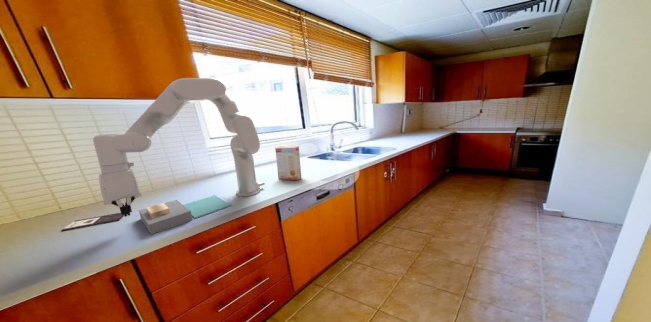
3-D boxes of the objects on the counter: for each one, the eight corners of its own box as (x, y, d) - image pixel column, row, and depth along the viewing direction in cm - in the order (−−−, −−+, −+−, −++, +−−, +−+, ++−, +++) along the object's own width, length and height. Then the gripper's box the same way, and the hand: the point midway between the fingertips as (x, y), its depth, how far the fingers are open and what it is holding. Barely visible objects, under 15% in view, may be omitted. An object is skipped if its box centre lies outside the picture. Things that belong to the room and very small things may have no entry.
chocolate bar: (118, 219, 95) (61, 230, 88) (119, 221, 95) (61, 232, 88) (127, 211, 103) (75, 220, 96) (127, 213, 103) (75, 222, 96)
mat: (214, 196, 118) (214, 195, 118) (232, 205, 105) (231, 204, 104) (180, 206, 106) (180, 205, 106) (195, 218, 93) (194, 217, 93)
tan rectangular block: (164, 207, 97) (163, 202, 96) (170, 212, 91) (168, 208, 90) (147, 212, 93) (146, 207, 92) (152, 218, 87) (150, 213, 86)
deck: (178, 207, 106) (176, 199, 105) (192, 219, 92) (190, 210, 92) (141, 218, 96) (138, 210, 95) (151, 234, 82) (148, 224, 82)
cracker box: (301, 178, 142) (299, 145, 137) (297, 180, 137) (294, 147, 132) (283, 176, 147) (280, 145, 142) (278, 179, 142) (274, 147, 137)
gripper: (139, 163, 88) (149, 206, 92) (85, 171, 78) (99, 219, 82) (143, 165, 83) (153, 210, 87) (85, 174, 73) (100, 225, 77)
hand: (127, 214), depth 84 cm, fingers closed
